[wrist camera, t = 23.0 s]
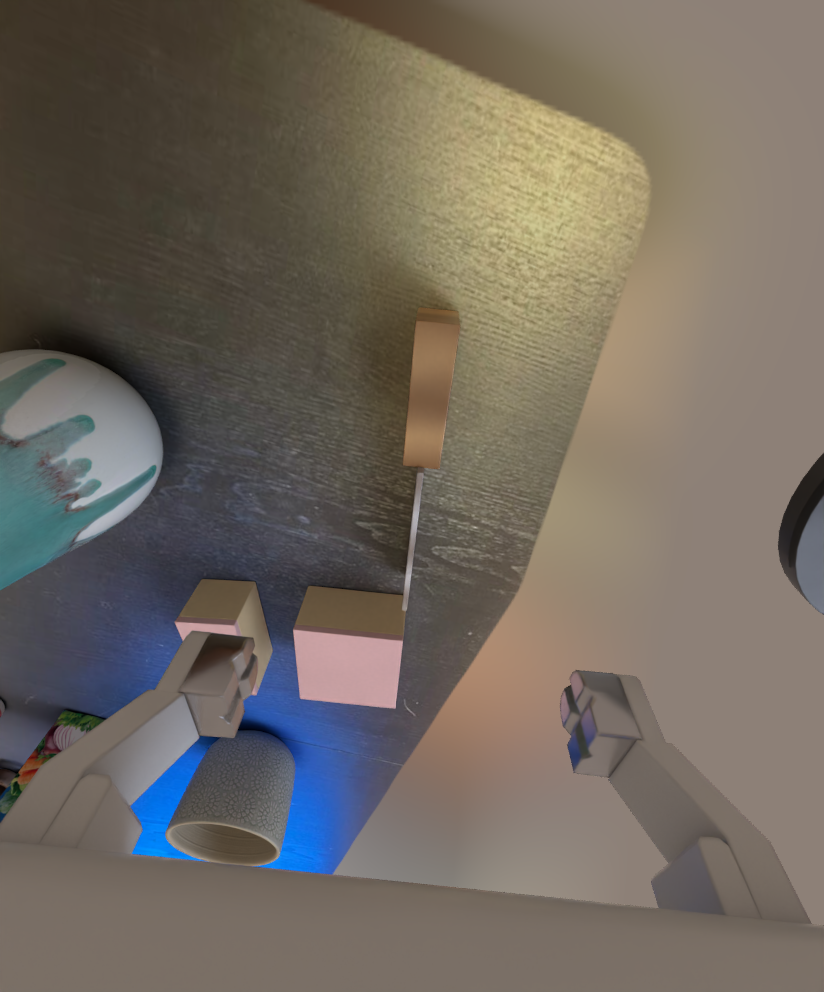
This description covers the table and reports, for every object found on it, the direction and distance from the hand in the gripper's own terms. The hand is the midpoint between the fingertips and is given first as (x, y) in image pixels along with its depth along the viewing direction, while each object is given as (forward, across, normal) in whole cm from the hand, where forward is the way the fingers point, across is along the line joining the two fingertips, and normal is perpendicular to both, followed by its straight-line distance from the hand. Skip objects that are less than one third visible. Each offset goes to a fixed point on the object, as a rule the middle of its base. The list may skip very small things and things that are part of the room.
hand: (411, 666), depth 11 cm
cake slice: (+21, +16, +25) cm, 37 cm away
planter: (+21, +17, +50) cm, 57 cm away
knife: (+21, 0, +7) cm, 22 cm away
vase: (+21, +23, +5) cm, 32 cm away
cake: (+21, +4, +25) cm, 33 cm away
